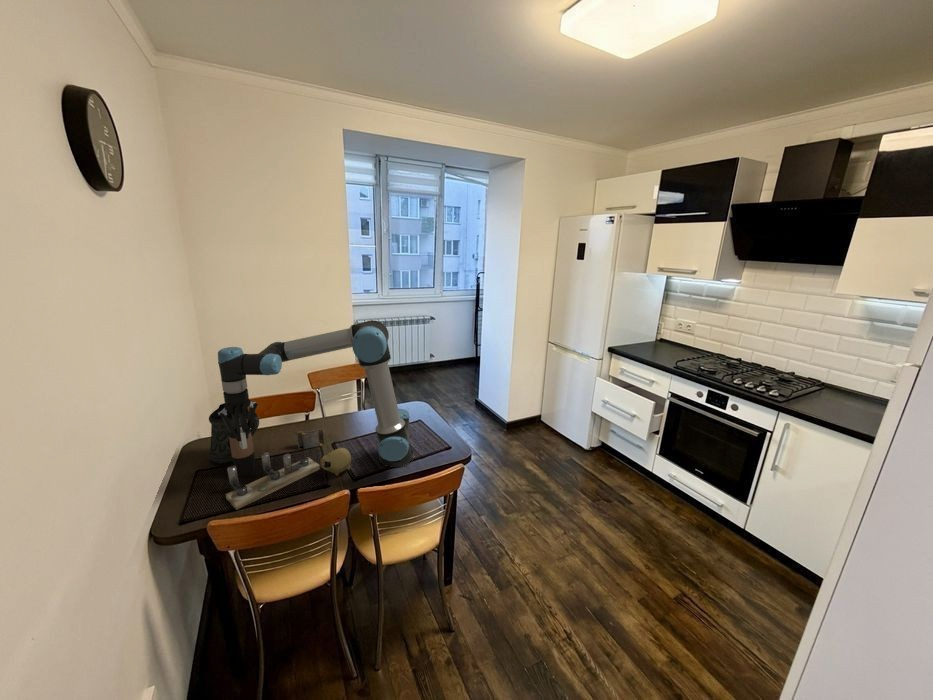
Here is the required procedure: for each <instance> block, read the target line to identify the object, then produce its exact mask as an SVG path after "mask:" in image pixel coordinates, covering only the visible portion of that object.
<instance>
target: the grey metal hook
mask: <svg viewBox="0 0 933 700" xmlns="http://www.w3.org/2000/svg"><path fill="white" fill-rule="evenodd" d="M260 456H261V457H260V458H261V464H262V466H261V467H262V470H263V471H264V472H265V473H266V474H267V475H269V476H271V480H277V479H279V478H280V472H279V471H278V470H275V469H272V466H271V459H270V453H269V452H268V451H267V452H263V453H260Z"/></svg>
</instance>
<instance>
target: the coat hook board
mask: <svg viewBox="0 0 933 700" xmlns="http://www.w3.org/2000/svg"><path fill="white" fill-rule="evenodd" d="M306 458H308V460H309V464H308V465H307V466H302V467H300V468H298V469H296V470H294V471H292V472H285V471H284V467H283V468H281V469H278V470H277V471H279V472H280V478H279V479H277V480H271V476H269V475H268V474H267V475H265V476H263V477H261V478H258V479H256V480H254V481H252V482H249V483H248V484H245V485H244V486H247V491H248V492H247V494H245V495H243V496H238V495H237V491H236V490H235V489H233V490H232V491H230V492H227V493H225V498H226V500H227V501H228V502H229V503H230V505H231V506H232V507H233V508H234V509H235V510H236V511H237V510H240V509H241V508H244V507H245V506H247V505H250V504H251V503H253V502H255V501H258V500H261V499H262V498H263V497H266V496H268V495H269V494H272V493H275V492H276V491H278V490H280V489H282V488H284V487H286V486H288V485H291V484H293V483H294V482H296V481H298V480H301V479H302V478H304V477H306V476H309V475H311V474H313V473H316V472H317V471H319V470H320V468H321V464H319V463H318V462H316V461H315V460H313V459H312V458H311V457H309V456H306ZM298 463H300V460H298V461H297V462H294V463H291V464H292V466H293V465H296V464H298Z"/></svg>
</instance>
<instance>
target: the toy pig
mask: <svg viewBox="0 0 933 700" xmlns="http://www.w3.org/2000/svg"><path fill="white" fill-rule="evenodd" d="M351 462H352V456H351V453H350V452H349V450H348V449H347V448H345V447H338V448H336V449H334V450H332V451H330V452H329V453H326V455H321V456H320V458H319V463H320V464H319V465H320V467H321V468H322V469H323V470H325V471H328V472H330V473H332V474H335V476H339V475H340V474H341V473H343V472H345V471H346V470H347V471H348V470H350V469H351Z"/></svg>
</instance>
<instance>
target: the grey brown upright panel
mask: <svg viewBox="0 0 933 700" xmlns="http://www.w3.org/2000/svg"><path fill="white" fill-rule="evenodd" d="M296 437H297V446H298V447H297V448H298V450H300V448H301V447H303V449H310V448H315V447H321V446H322V447H323V446H325V445H326V443H325V442H326V441H325V439H326V438H325V430H324V428H320V429H314V430H307V431H303V430H302V431H297V433H296Z"/></svg>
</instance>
